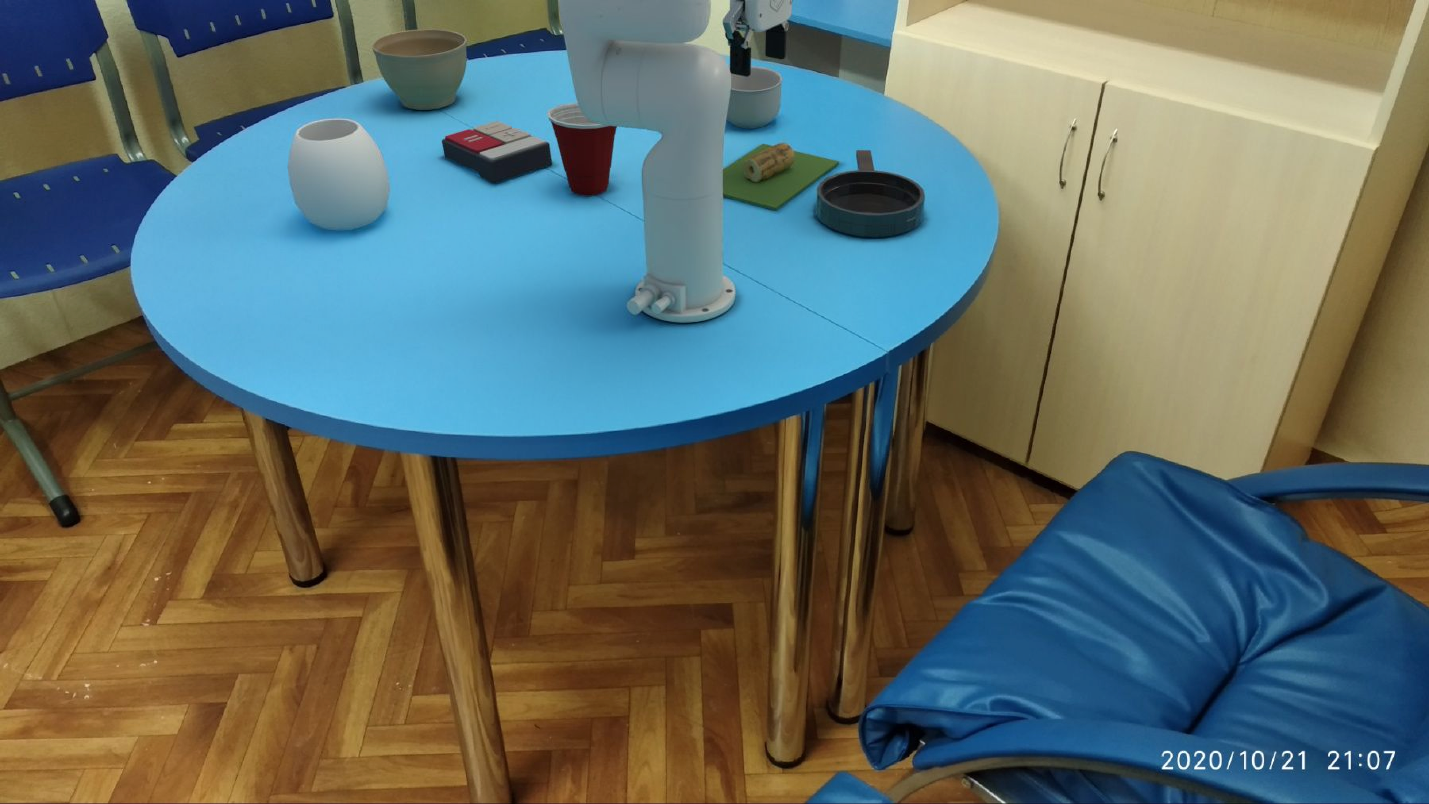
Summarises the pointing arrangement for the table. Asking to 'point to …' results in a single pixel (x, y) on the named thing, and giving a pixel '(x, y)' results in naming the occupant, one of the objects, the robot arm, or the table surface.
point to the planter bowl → (422, 66)
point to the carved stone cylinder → (769, 162)
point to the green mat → (774, 180)
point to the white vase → (337, 174)
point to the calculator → (497, 151)
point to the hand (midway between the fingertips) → (758, 66)
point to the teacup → (754, 98)
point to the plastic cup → (583, 149)
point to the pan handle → (864, 160)
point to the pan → (869, 203)
